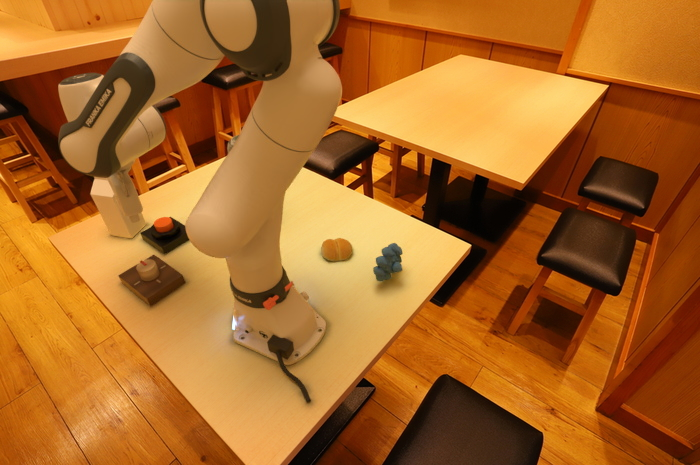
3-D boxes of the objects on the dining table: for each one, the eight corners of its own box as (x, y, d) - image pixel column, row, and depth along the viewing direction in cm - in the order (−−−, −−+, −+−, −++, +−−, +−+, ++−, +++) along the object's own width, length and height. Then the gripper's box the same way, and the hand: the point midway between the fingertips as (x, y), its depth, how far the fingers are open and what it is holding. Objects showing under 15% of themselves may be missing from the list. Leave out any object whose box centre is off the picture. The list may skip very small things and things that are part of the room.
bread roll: (354, 260, 106) (354, 250, 103) (323, 263, 105) (322, 253, 102) (349, 241, 112) (350, 231, 109) (320, 244, 111) (319, 234, 108)
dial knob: (163, 273, 96) (158, 263, 94) (147, 283, 94) (142, 273, 91) (153, 266, 98) (148, 256, 96) (137, 276, 96) (132, 265, 93)
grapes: (387, 299, 95) (391, 265, 87) (366, 286, 98) (368, 253, 91) (411, 273, 102) (417, 240, 94) (390, 262, 105) (394, 229, 98)
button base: (194, 236, 113) (190, 225, 110) (164, 254, 106) (159, 242, 103) (172, 223, 117) (168, 211, 115) (143, 239, 111) (137, 227, 108)
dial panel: (185, 282, 98) (182, 274, 96) (150, 306, 92) (146, 298, 90) (157, 262, 104) (153, 253, 102) (122, 283, 98) (117, 275, 96)
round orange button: (177, 226, 110) (175, 220, 108) (162, 234, 107) (160, 229, 105) (167, 220, 112) (165, 214, 110) (152, 228, 109) (150, 222, 107)
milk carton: (132, 239, 111) (107, 184, 99) (111, 235, 112) (83, 181, 100) (146, 224, 117) (124, 171, 105) (126, 221, 118) (102, 168, 106)
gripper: (139, 174, 73) (157, 229, 81) (115, 133, 84) (133, 184, 93) (103, 183, 69) (126, 239, 78) (82, 139, 81) (104, 192, 90)
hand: (129, 209), depth 86 cm, fingers open, 8 cm apart
